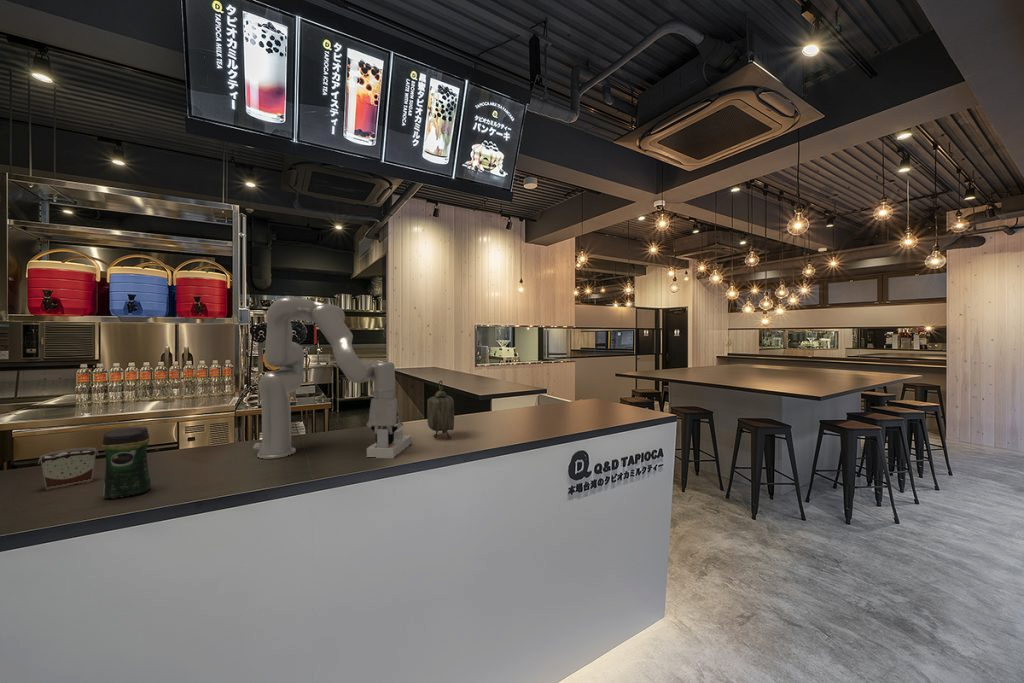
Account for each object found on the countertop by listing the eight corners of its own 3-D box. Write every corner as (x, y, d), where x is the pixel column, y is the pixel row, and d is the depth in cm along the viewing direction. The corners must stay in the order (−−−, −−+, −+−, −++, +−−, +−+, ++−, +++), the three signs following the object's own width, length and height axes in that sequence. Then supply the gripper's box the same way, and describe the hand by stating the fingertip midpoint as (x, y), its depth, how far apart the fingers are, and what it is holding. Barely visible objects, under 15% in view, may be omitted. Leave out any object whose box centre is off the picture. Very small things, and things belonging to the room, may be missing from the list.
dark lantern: (454, 440, 175) (453, 381, 174) (433, 442, 171) (432, 382, 171) (446, 432, 188) (446, 378, 188) (427, 434, 185) (426, 379, 185)
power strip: (366, 457, 149) (366, 440, 149) (387, 443, 169) (387, 428, 169) (393, 458, 149) (393, 440, 148) (411, 444, 168) (411, 428, 168)
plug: (377, 450, 151) (377, 423, 151) (382, 447, 156) (381, 421, 156) (387, 450, 151) (387, 424, 151) (392, 447, 156) (392, 421, 156)
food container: (96, 476, 131) (96, 445, 131) (98, 480, 127) (98, 448, 127) (37, 487, 121) (36, 453, 121) (38, 492, 117) (37, 457, 117)
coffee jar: (153, 486, 122) (152, 423, 121) (146, 495, 115) (145, 429, 115) (109, 492, 117) (108, 427, 117) (98, 502, 110) (97, 433, 110)
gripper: (358, 396, 150) (358, 446, 150) (402, 396, 149) (402, 446, 149) (367, 393, 158) (367, 440, 158) (409, 393, 156) (409, 441, 156)
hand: (384, 443), depth 153 cm, fingers closed on plug, 3 cm apart
